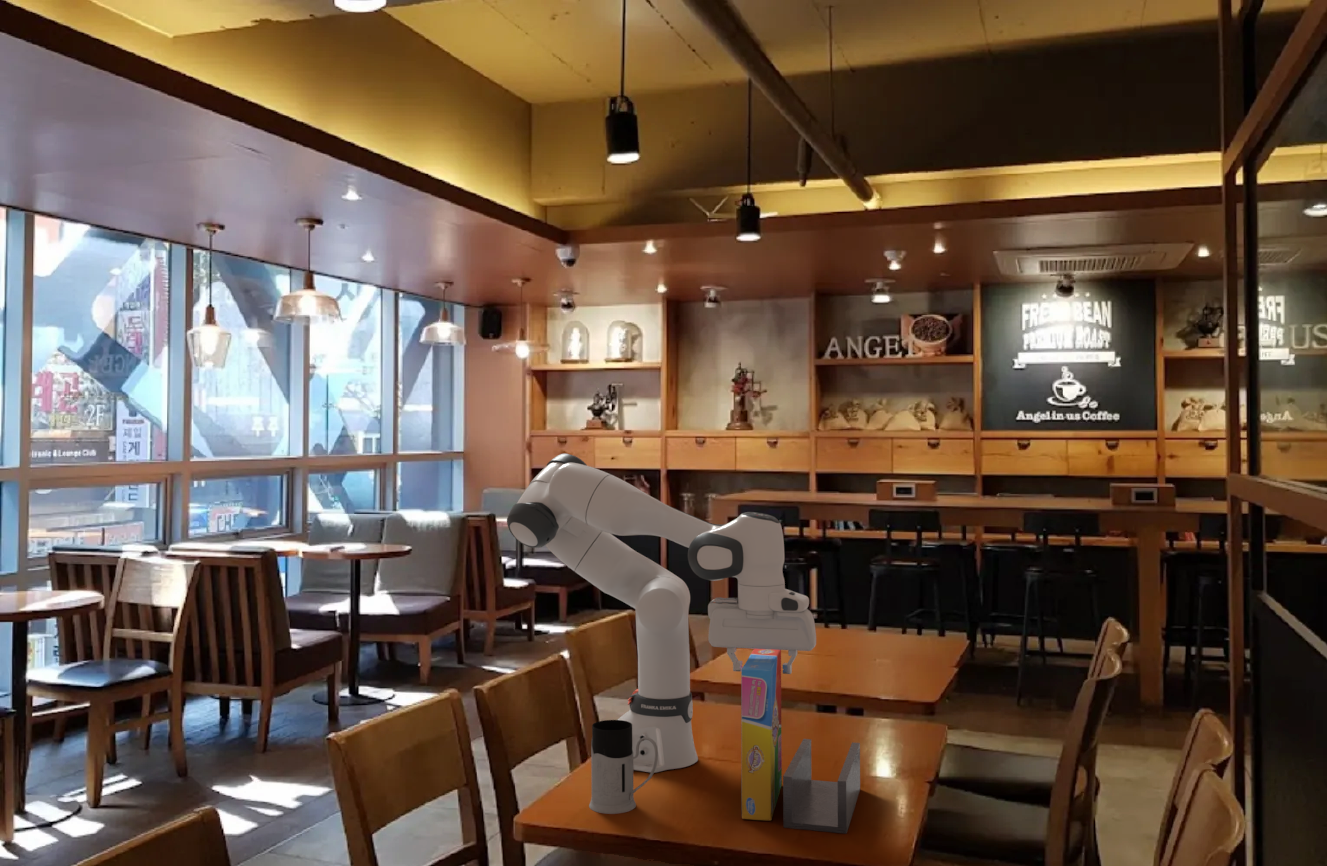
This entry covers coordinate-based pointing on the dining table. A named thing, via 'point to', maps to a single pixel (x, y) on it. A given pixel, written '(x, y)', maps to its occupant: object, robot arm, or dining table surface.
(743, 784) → the game box
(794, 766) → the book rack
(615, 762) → the glass holder
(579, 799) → the dining table surface
